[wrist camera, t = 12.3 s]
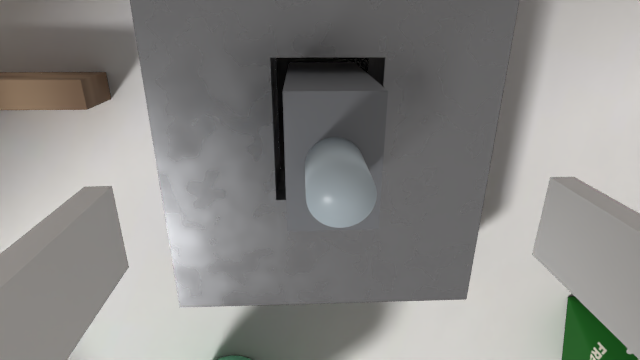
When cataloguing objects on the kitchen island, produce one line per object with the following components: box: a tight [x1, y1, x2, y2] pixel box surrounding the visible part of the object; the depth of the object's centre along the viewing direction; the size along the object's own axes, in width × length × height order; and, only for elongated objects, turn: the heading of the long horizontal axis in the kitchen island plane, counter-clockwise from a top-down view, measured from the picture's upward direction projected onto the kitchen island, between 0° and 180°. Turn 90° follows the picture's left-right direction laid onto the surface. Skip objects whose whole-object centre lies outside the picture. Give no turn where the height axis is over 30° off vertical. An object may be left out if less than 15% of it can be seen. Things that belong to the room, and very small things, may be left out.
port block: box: [130, 0, 519, 307], centre depth 23 cm, size 18×22×5 cm
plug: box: [283, 62, 388, 231], centre depth 19 cm, size 4×6×13 cm, turn 0°
